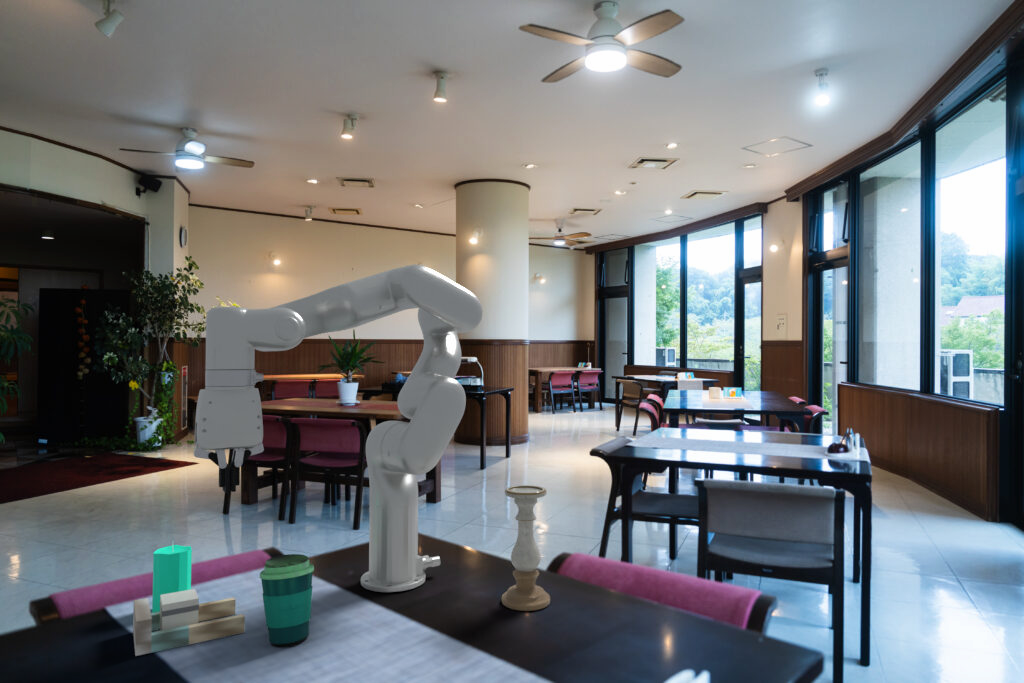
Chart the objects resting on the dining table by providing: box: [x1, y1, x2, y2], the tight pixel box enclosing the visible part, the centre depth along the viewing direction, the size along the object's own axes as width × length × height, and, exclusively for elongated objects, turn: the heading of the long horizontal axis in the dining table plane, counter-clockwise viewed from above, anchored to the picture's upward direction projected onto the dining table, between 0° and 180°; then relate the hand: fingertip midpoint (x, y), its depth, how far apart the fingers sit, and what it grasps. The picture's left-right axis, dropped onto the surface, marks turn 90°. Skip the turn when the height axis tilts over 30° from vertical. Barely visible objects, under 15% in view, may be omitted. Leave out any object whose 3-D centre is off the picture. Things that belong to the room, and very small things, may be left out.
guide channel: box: [132, 597, 246, 657], centre depth 100 cm, size 15×10×5 cm, turn 123°
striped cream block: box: [159, 588, 200, 631], centre depth 100 cm, size 5×5×6 cm
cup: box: [259, 553, 315, 648], centre depth 99 cm, size 8×8×12 cm
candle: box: [151, 541, 193, 613], centre depth 110 cm, size 6×6×12 cm
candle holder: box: [501, 484, 551, 612], centre depth 113 cm, size 9×9×20 cm
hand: (229, 490), depth 104 cm, fingers closed
